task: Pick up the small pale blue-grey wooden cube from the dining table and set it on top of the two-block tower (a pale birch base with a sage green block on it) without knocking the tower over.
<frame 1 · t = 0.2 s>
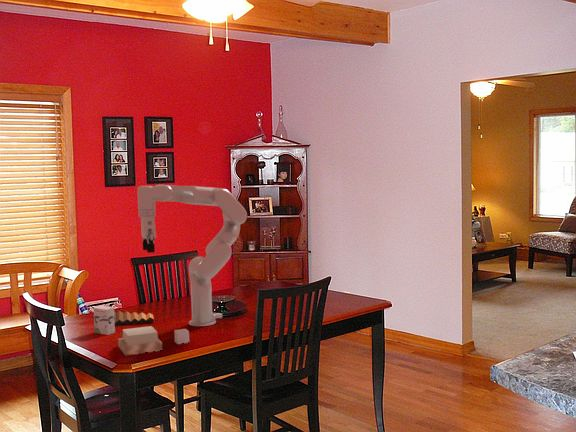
hand: (148, 251, 312), 36 cm above the table, tool pointing down, fingers open, 9 cm apart
cube: (182, 342, 294), on the table
tower base: (140, 349, 286), on the table, touching tower top
pan flute: (127, 320, 339), on the table
ink box: (104, 333, 313), on the table
tower top: (140, 340, 285), point 3 cm above the table, touching tower base
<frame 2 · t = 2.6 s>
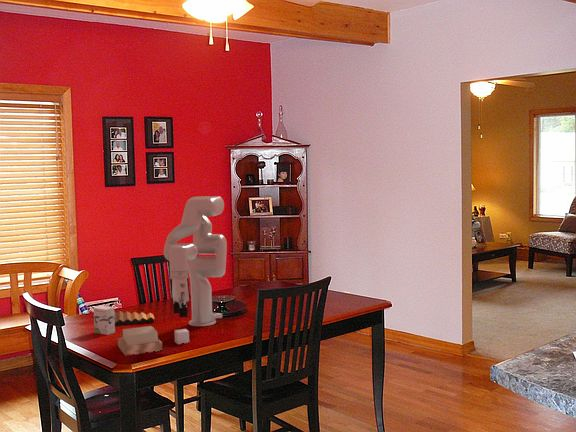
hand: (180, 314, 292), 12 cm above the table, tool pointing down, fingers open, 9 cm apart
nothing on the table moved.
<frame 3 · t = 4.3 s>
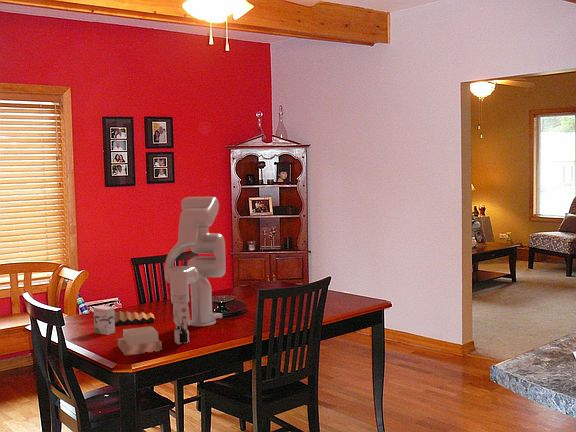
hand: (181, 340, 294), 1 cm above the table, tool pointing down, fingers closed on cube, 5 cm apart
cube: (182, 342, 294), on the table, touching gripper
tower base: (139, 350, 286), on the table
tower top: (140, 340, 285), point 3 cm above the table
everything else where it was.
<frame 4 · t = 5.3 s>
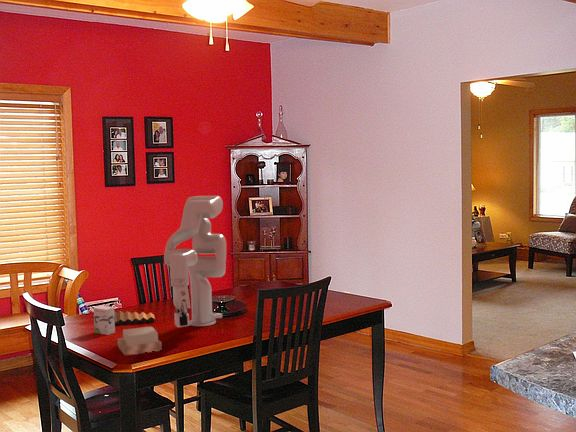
hand: (182, 323, 294), 8 cm above the table, tool pointing down, fingers closed on cube, 5 cm apart
cube: (182, 325, 294), point 7 cm above the table, touching gripper
tower base: (139, 350, 286), on the table, touching tower top
tower top: (140, 340, 285), point 3 cm above the table, touching tower base
everything else where it was.
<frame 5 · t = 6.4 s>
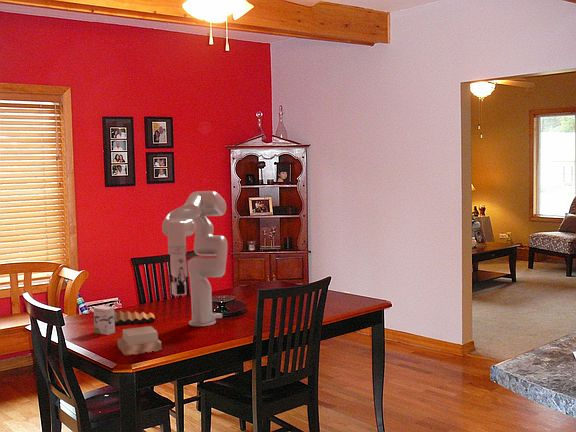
hand: (179, 292, 292), 21 cm above the table, tool pointing down, fingers closed on cube, 5 cm apart
cube: (179, 294, 292), point 21 cm above the table, touching gripper
everything else where it was.
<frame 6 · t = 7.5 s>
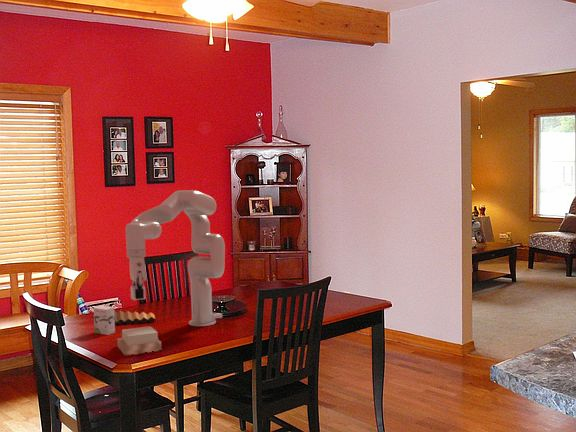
hand: (138, 296, 284), 22 cm above the table, tool pointing down, fingers closed on cube, 5 cm apart
cube: (138, 298, 284), point 21 cm above the table, touching gripper
everything else where it was.
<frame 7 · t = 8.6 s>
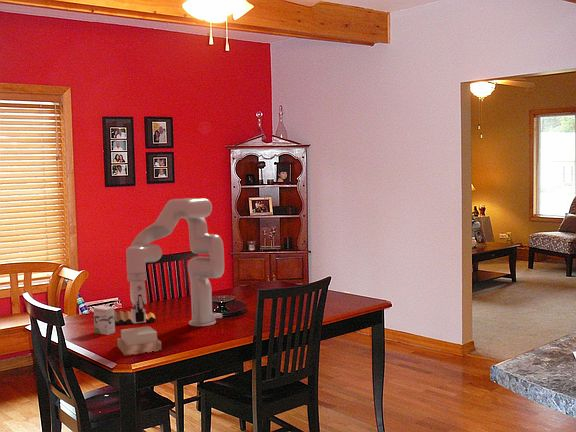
hand: (138, 319, 284), 12 cm above the table, tool pointing down, fingers closed on cube, 5 cm apart
cube: (138, 321, 284), point 11 cm above the table, touching gripper
when the fingers open (10 cm above the table, at t = 9.5 s): cube drops 2 cm, resting on tower top.
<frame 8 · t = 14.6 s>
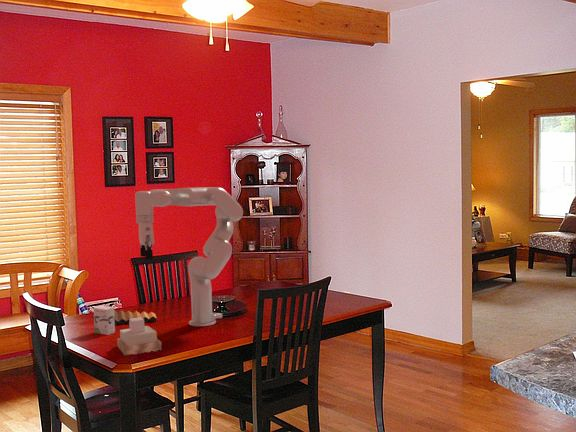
hand: (146, 257, 306), 34 cm above the table, tool pointing down, fingers open, 9 cm apart
cube: (137, 331, 285), point 7 cm above the table, touching tower top
tower top: (138, 340, 286), point 3 cm above the table, touching cube, tower base
at the end: cube inside the target area on the tower top (0.4 cm from its centre), point 4.0 cm above the tower top's base; cube tilted 0°; tower top 0.2 cm off-centre on the tower base, point 4.0 cm above the tower base's base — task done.
